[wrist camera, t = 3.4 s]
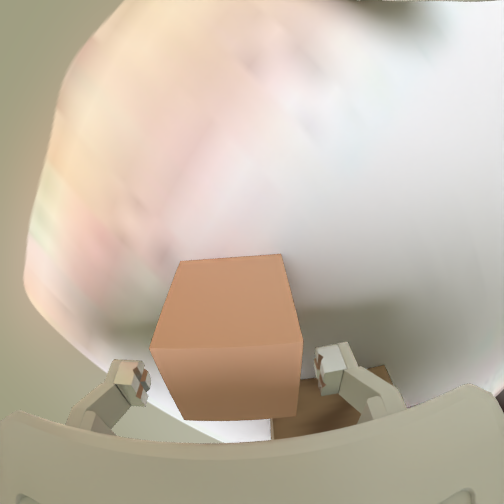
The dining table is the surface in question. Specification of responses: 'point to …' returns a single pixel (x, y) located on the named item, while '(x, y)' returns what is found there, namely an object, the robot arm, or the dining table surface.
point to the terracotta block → (230, 340)
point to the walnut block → (319, 411)
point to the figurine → (440, 0)
